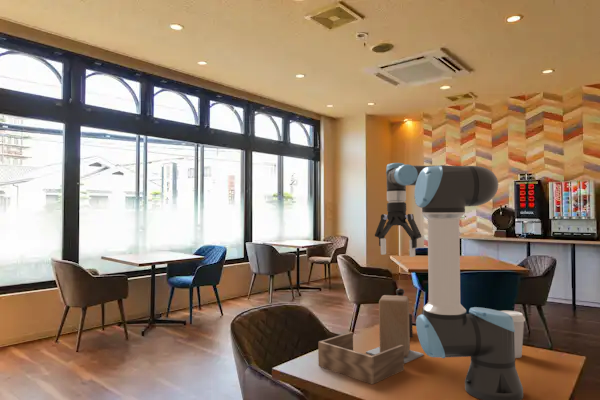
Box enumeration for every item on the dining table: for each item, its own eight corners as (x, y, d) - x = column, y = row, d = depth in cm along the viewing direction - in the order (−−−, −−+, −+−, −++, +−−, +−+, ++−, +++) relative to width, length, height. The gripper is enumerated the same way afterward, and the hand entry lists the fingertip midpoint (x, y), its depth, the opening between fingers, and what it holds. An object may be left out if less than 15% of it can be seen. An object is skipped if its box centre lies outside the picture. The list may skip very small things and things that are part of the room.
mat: (423, 355, 154) (423, 353, 154) (403, 364, 145) (403, 362, 145) (386, 345, 166) (386, 344, 166) (365, 353, 157) (365, 351, 157)
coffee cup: (500, 358, 149) (498, 315, 150) (494, 350, 159) (493, 309, 159) (529, 360, 147) (528, 316, 148) (522, 351, 157) (521, 310, 157)
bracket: (404, 369, 139) (403, 345, 140) (372, 384, 128) (371, 357, 128) (351, 354, 156) (350, 332, 156) (318, 365, 144) (318, 341, 145)
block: (408, 358, 149) (407, 300, 149) (379, 355, 152) (378, 299, 153) (410, 349, 158) (409, 295, 159) (382, 347, 161) (381, 294, 162)
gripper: (429, 201, 163) (430, 256, 162) (376, 203, 182) (377, 253, 181) (419, 200, 158) (420, 258, 157) (365, 202, 176) (366, 254, 176)
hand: (397, 255), depth 169 cm, fingers open, 13 cm apart
